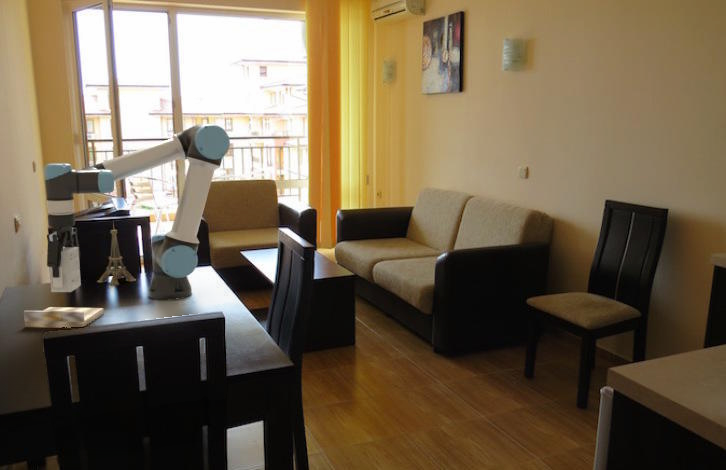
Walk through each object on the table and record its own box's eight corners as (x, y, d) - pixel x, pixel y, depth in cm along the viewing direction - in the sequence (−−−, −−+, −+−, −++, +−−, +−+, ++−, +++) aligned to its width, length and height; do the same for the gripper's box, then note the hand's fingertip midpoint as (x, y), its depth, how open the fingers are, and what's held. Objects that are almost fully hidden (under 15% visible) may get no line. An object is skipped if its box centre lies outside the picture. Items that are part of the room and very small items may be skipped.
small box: (61, 285, 187) (58, 246, 185) (81, 285, 188) (78, 246, 186) (50, 292, 179) (47, 251, 177) (71, 292, 180) (68, 251, 178)
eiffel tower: (136, 280, 234) (133, 219, 229) (113, 285, 225) (109, 223, 220) (120, 276, 239) (116, 217, 235) (97, 281, 230) (92, 220, 226)
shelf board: (103, 313, 190) (102, 299, 190) (82, 328, 176) (81, 312, 176) (50, 312, 191) (48, 298, 190) (24, 327, 177) (23, 311, 176)
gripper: (66, 208, 190) (71, 275, 194) (29, 217, 169) (35, 292, 173) (89, 209, 190) (93, 275, 194) (54, 218, 169) (60, 292, 173)
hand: (66, 283), depth 183 cm, fingers closed on small box, 8 cm apart
